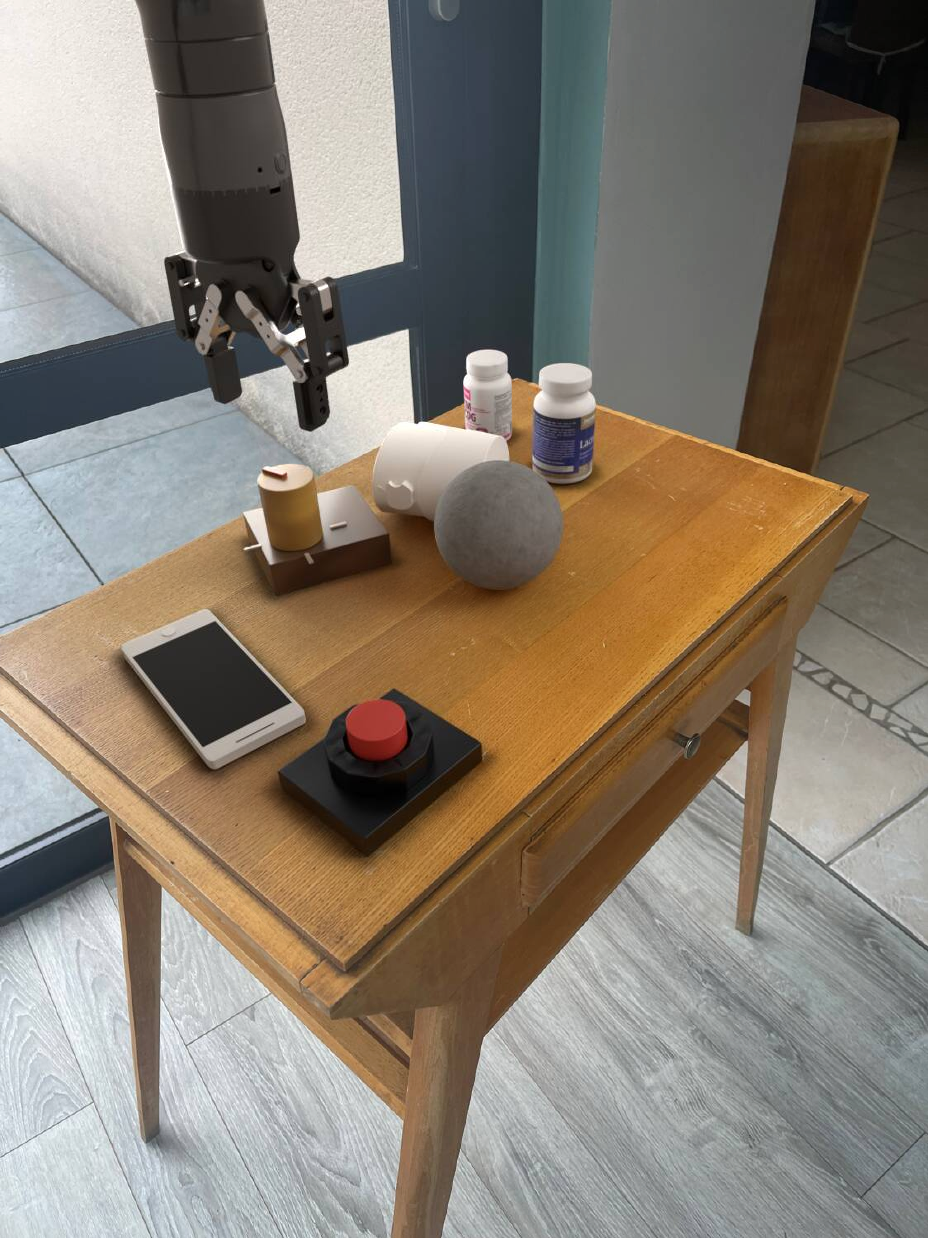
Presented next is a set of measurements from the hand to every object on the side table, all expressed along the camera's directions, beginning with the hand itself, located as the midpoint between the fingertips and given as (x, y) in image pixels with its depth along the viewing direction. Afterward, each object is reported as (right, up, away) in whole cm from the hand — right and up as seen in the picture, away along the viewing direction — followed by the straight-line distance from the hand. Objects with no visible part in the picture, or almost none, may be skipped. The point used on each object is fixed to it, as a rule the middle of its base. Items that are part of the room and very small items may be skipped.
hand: (270, 412), depth 68 cm
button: (+9, -22, -10) cm, 26 cm away
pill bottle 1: (+17, +4, +28) cm, 33 cm away
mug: (+13, -5, +17) cm, 22 cm away
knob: (0, -8, +8) cm, 12 cm away
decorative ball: (+17, -12, +8) cm, 22 cm away
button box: (+9, -25, -9) cm, 28 cm away
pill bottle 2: (+23, -1, +21) cm, 32 cm away
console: (+2, -9, +12) cm, 15 cm away
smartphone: (-4, -20, -1) cm, 20 cm away
